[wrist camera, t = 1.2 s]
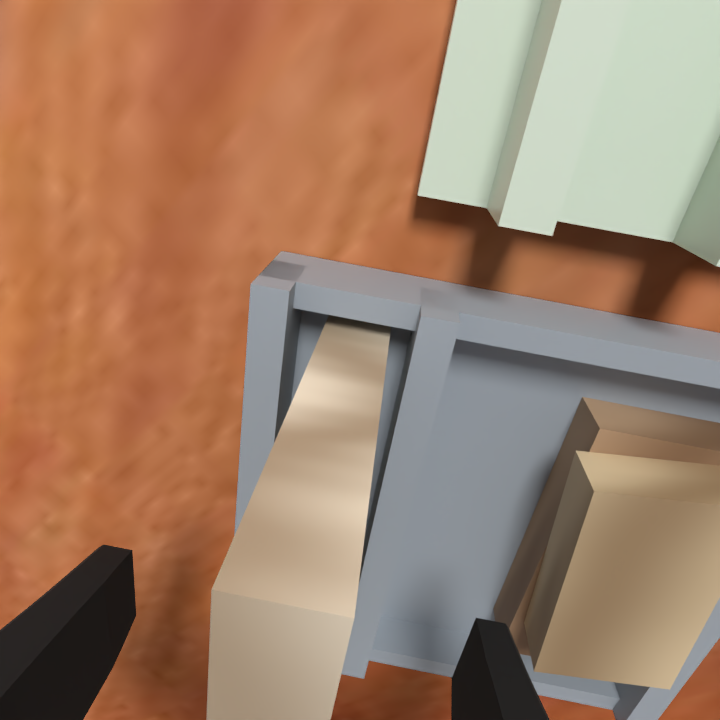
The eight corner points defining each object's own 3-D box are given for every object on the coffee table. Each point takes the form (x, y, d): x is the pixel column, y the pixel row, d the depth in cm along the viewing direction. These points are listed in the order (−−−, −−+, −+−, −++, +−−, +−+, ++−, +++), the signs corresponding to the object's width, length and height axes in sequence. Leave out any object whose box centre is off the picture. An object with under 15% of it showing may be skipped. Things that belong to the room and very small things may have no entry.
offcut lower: (734, 425, 13) (769, 460, 11) (611, 631, 16) (627, 675, 15) (582, 396, 13) (599, 428, 12) (493, 608, 16) (499, 649, 15)
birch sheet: (391, 322, 12) (354, 618, 5) (335, 598, 17) (274, 957, 10) (330, 311, 12) (211, 589, 5) (290, 589, 17) (197, 940, 10)
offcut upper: (729, 466, 12) (766, 510, 10) (648, 638, 14) (669, 689, 13) (575, 450, 12) (594, 491, 11) (524, 622, 15) (534, 671, 13)
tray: (806, 349, 12) (895, 405, 10) (616, 654, 18) (645, 735, 16) (281, 251, 13) (251, 283, 10) (251, 581, 18) (226, 650, 16)
